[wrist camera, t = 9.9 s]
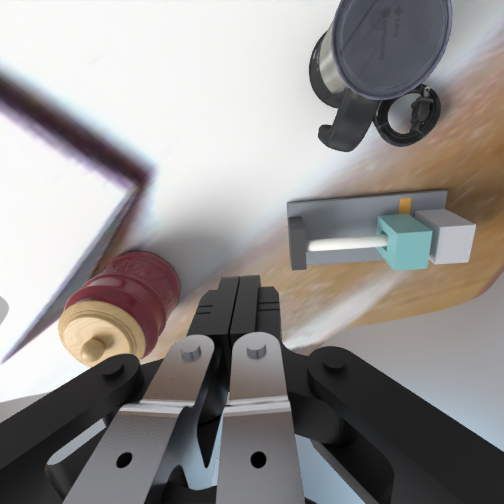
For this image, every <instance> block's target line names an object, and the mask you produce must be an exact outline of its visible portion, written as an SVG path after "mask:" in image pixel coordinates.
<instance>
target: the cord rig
mask: <svg viewBox="0 0 504 504" xmlns="http://www.w3.org/2000/svg"><path fill="white" fill-rule="evenodd" d="M447 192H448V191H446V190H432V191H420V192H409V193H397V194H385V195H373V196H362V197H350V198H338V199H326V200H315V201H303V202H291V203H287V216H288V233H289V251H290V266H292V270H304V269H306V265H318V264H334V263H349V262H365V261H380V260H385V259H384V258H383V257H382V256H381V254H380V253H379V252H378V251H377V249H376V248H375V247H384V246H387V242H388V235H387V234H385V235H376V232H377V218H378V216H381V215H394V214H409V215H410V216H412V217H413V218H414V219H416V220H417V221H419V222H420V223H422V224H423V225H425V226H426V227H428V228H429V229H430V230H432V231H433V232H432V238H431V245H430V252H429V258H428V259H429V260H431V261H432V262H433V263H434V264H448V263H464V262H468V261H469V256H470V252H471V247H472V242H473V237H474V233H475V228H476V224H474V223H472V222H470V221H468V220H466V219H464V218H462V217H460V216H458V215H456V214H454V213H452V212H450V211H448V210H446V209H445V205H446V199H447Z"/></svg>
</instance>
